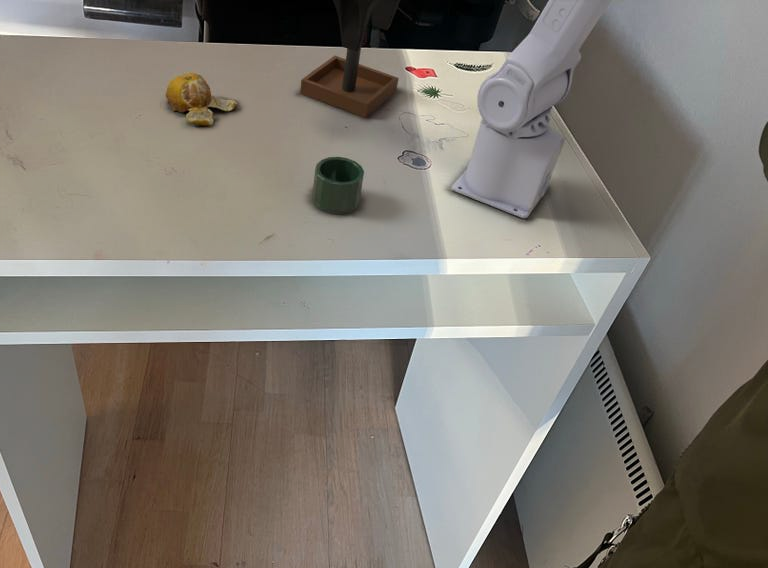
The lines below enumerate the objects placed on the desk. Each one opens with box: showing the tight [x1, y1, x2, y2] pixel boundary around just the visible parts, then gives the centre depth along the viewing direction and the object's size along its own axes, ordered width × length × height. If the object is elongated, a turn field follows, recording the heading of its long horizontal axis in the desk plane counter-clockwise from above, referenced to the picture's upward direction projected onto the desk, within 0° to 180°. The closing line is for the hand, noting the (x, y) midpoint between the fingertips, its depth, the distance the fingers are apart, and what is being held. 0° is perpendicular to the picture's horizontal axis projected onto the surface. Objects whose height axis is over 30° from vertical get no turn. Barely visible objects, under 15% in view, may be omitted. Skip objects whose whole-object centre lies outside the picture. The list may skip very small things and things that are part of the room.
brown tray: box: [299, 55, 399, 119], centre depth 103 cm, size 10×9×2 cm
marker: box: [342, 47, 362, 92], centre depth 100 cm, size 2×2×8 cm
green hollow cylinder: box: [311, 156, 365, 215], centre depth 85 cm, size 5×5×4 cm
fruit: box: [165, 72, 238, 126], centre depth 97 cm, size 8×8×4 cm
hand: (366, 37), depth 92 cm, fingers open, 7 cm apart
